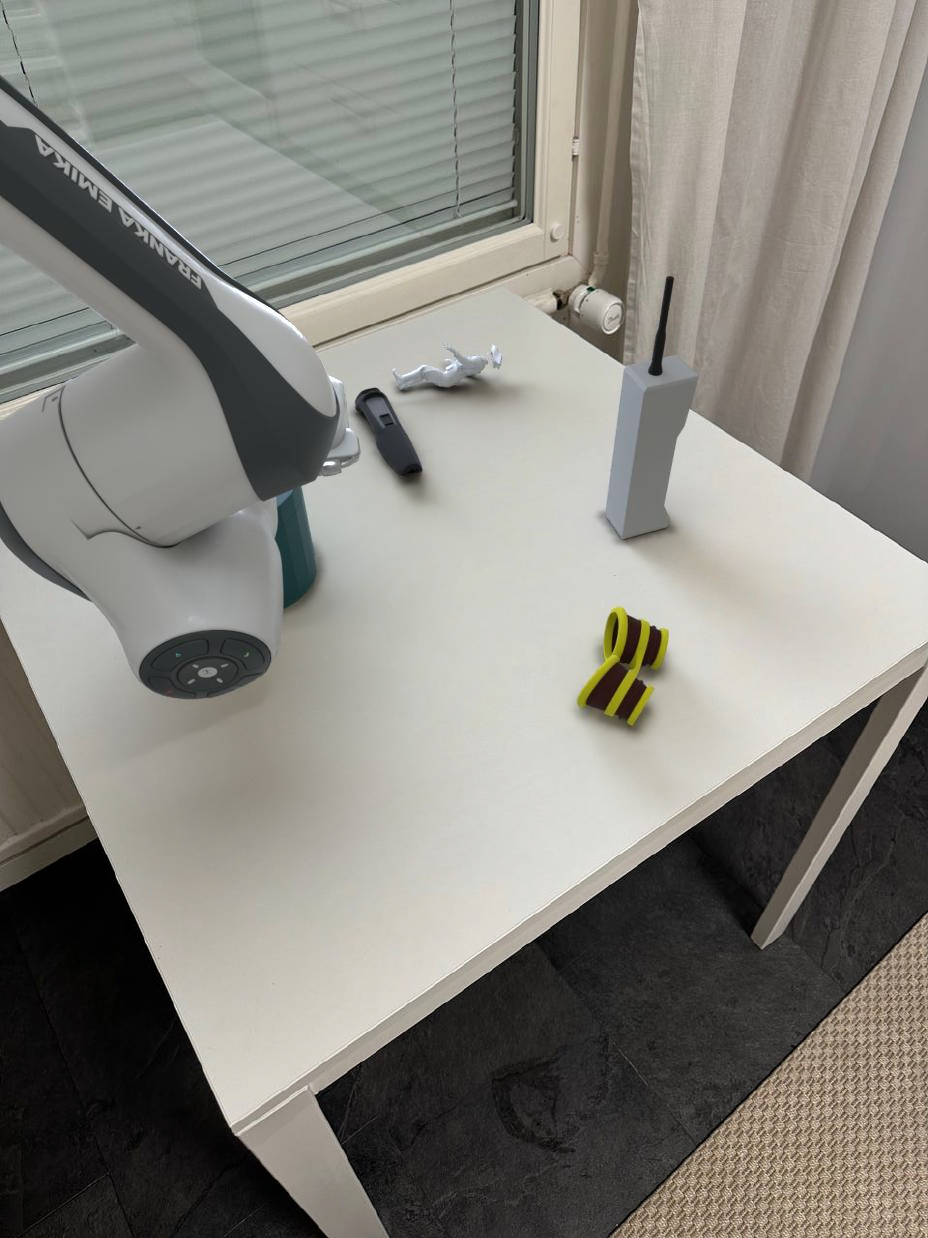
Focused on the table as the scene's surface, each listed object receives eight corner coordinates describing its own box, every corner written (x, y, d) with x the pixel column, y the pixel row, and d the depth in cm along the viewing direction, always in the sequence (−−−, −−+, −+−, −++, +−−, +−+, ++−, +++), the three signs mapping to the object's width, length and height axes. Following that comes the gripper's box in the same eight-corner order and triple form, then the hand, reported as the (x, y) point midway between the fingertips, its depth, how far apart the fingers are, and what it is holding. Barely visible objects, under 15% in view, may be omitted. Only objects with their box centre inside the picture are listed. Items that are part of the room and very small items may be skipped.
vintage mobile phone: (668, 528, 85) (718, 279, 67) (621, 541, 84) (659, 291, 66) (650, 504, 88) (694, 258, 69) (604, 516, 87) (636, 269, 68)
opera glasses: (631, 742, 70) (652, 708, 66) (569, 715, 70) (586, 680, 67) (659, 653, 76) (680, 617, 72) (601, 629, 77) (619, 592, 73)
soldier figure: (395, 379, 105) (486, 333, 105) (413, 417, 106) (504, 371, 105) (389, 365, 98) (487, 316, 97) (408, 406, 98) (507, 356, 97)
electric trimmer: (396, 492, 90) (394, 467, 88) (352, 408, 100) (349, 384, 97) (431, 483, 91) (430, 458, 89) (384, 401, 101) (382, 376, 98)
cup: (214, 634, 77) (182, 540, 69) (182, 556, 84) (150, 462, 76) (333, 592, 80) (316, 498, 72) (294, 521, 87) (274, 427, 79)
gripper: (359, 428, 57) (337, 321, 67) (30, 472, 55) (55, 355, 64) (368, 503, 62) (347, 394, 71) (65, 547, 60) (84, 427, 69)
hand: (206, 375), depth 68 cm, fingers closed on brush, 2 cm apart
